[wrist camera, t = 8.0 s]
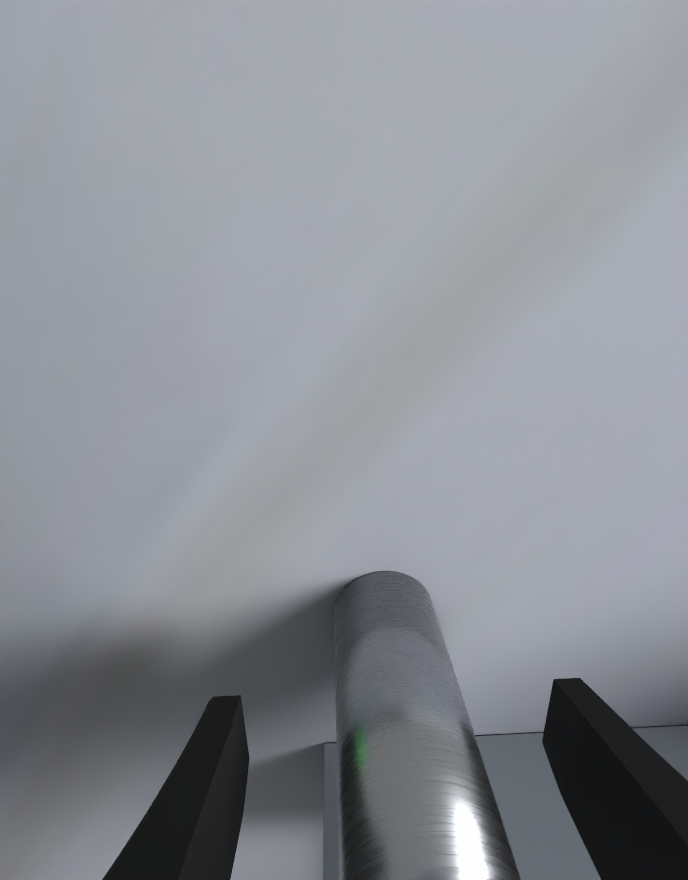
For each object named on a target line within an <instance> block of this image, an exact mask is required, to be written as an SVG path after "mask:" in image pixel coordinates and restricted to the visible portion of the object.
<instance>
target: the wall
mask: <svg viewBox="0 0 688 880" xmlns="http://www.w3.org/2000/svg"><path fill="white" fill-rule="evenodd" d="M632 729H633V730H634V731H635V732H636V733H637V734H638V735H639V736H640V737H641V738H642V739H643V740H644V741H646V742H647V743H648V744H649V745H650V746H651V747H652V748H653V749H654V750H655V751H656V752H657V753H658V754H659V755H660V756H662V757H663V758H664V759H665V760H666V761H667V762H668V763H669V764H670V765H671V766H672V767H673V768H675V769H676V770H677V771H678V772H679V773H680V774H681V775H682V776H683V777H684V778H685V779H686V780H688V726H670V727H650V728H632ZM543 734H544V733H530V734H510V735H490V736H475V738H476V741H477V744H478V747H479V750H480V753H481V756H482V759H483V763H484V766H485V769H486V772H487V775H488V778H489V781H490V784H491V787H492V791H493V794H494V797H495V800H496V803H497V806H498V809H499V812H500V815H501V819H502V822H503V825H504V828H505V831H506V834H507V837H508V840H509V843H510V847H511V850H512V853H513V856H514V859H515V862H516V865H517V868H518V871H519V875H520V878H521V880H601V878H600V876H599V874H598V872H597V870H596V868H595V866H594V864H593V862H592V860H591V857H590V855H589V853H588V851H587V849H586V847H585V845H584V843H583V841H582V839H581V836H580V834H579V832H578V830H577V828H576V826H575V824H574V822H573V820H572V817H571V815H570V813H569V811H568V809H567V807H566V805H565V802H564V800H563V798H562V796H561V793H560V791H559V788H558V785H557V783H556V780H555V777H554V775H553V772H552V769H551V766H550V764H549V761H548V758H547V755H546V752H545V749H544V746H543V744H542V739H543ZM323 880H339V839H338V788H337V743H329V744H324V847H323Z"/></svg>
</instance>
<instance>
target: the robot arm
mask: <svg viewBox="0 0 688 880" xmlns="http://www.w3.org/2000/svg"><path fill="white" fill-rule="evenodd" d="M542 744H543V746H544V749H545V752H546V755H547V758H548V761H549V764H550V766H551V769H552V772H553V775H554V777H555V780H556V783H557V785H558V788H559V791H560V793H561V796H562V798H563V800H564V802H565V805H566V807H567V809H568V811H569V813H570V815H571V817H572V820H573V822H574V824H575V826H576V828H577V830H578V832H579V834H580V836H581V839H582V841H583V843H584V845H585V847H586V849H587V851H588V853H589V855H590V857H591V860H592V862H593V864H594V866H595V868H596V870H597V872H598V874H599V876H600V878H601V880H688V780H686V779H685V778H684V777H683V776H682V775H681V774H680V773H679V772H678V771H677V770H676V769H675V768H673V767H672V766H671V765H670V764H669V763H668V762H667V761H666V760H665V759H664V758H663V757H662V756H660V755H659V754H658V753H657V752H656V751H655V750H654V749H653V748H652V747H651V746H650V745H649V744H648V743H647V742H646V741H644V740H643V739H642V738H641V737H640V736H639V735H638V734H637V733H636V732H635V731H634V730H633V729H632V728H631V727H630V726H629V725H628V724H627V723H626V722H625V721H624V720H623V719H622V718H621V717H620V716H618V715H617V714H616V713H615V712H614V711H613V710H612V709H611V708H610V707H609V706H608V705H607V704H606V703H605V702H604V701H603V700H602V699H601V698H600V697H599V696H598V695H597V694H596V693H595V692H594V691H593V690H592V689H591V688H590V687H589V686H588V685H586V684H585V683H584V682H583V681H582V680H581V679H580V678H569V679H554V681H553V686H552V691H551V696H550V702H549V707H548V712H547V718H546V723H545V728H544V734H543V739H542ZM248 765H249V753H248V745H247V738H246V731H245V723H244V716H243V709H242V701H241V695H238V696H219V697H213V698H212V699H211V700H210V701H209V702H208V704H207V706H206V709H205V711H204V713H203V715H202V717H201V719H200V720H199V722H198V724H197V726H196V728H195V730H194V732H193V734H192V736H191V738H190V739H189V741H188V743H187V745H186V747H185V748H184V750H183V752H182V754H181V756H180V757H179V759H178V761H177V763H176V765H175V766H174V768H173V770H172V771H171V773H170V775H169V776H168V778H167V780H166V781H165V783H164V785H163V786H162V788H161V790H160V791H159V793H158V795H157V796H156V798H155V800H154V802H153V803H152V805H151V806H150V808H149V810H148V811H147V813H146V814H145V816H144V818H143V819H142V821H141V822H140V824H139V825H138V827H137V828H136V830H135V831H134V833H133V834H132V836H131V837H130V839H129V841H128V842H127V844H126V845H125V847H124V848H123V850H122V851H121V853H120V854H119V856H118V857H117V859H116V860H115V862H114V863H113V865H112V866H111V868H110V869H109V871H108V872H107V874H106V875H105V877H104V878H103V879H102V880H230V878H231V873H232V868H233V863H234V858H235V853H236V848H237V843H238V838H239V832H240V827H241V822H242V817H243V810H244V802H245V793H246V784H247V775H248Z"/></svg>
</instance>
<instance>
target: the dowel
mask: <svg viewBox="0 0 688 880" xmlns="http://www.w3.org/2000/svg"><path fill="white" fill-rule="evenodd" d="M334 635H335V686H336V737H337V788H338V839H339V880H521V878H520V875H519V871H518V868H517V865H516V862H515V859H514V856H513V853H512V850H511V847H510V843H509V840H508V837H507V834H506V831H505V828H504V825H503V822H502V819H501V815H500V812H499V809H498V806H497V803H496V800H495V797H494V794H493V791H492V787H491V784H490V781H489V778H488V775H487V772H486V769H485V766H484V763H483V759H482V756H481V753H480V750H479V747H478V744H477V741H476V738H475V735H474V731H473V728H472V725H471V722H470V719H469V716H468V713H467V710H466V707H465V703H464V700H463V697H462V694H461V691H460V688H459V685H458V682H457V679H456V675H455V672H454V669H453V666H452V663H451V660H450V657H449V654H448V651H447V647H446V644H445V641H444V638H443V635H442V632H441V629H440V626H439V623H438V619H437V616H436V613H435V610H434V607H433V604H432V601H431V598H430V595H429V593H428V592H427V590H426V589H425V587H424V586H423V585H422V584H421V583H420V582H418V581H417V580H416V579H414V578H412V577H410V576H408V575H405V574H402V573H398V572H392V571H381V572H374V573H370V574H367V575H364V576H362V577H359V578H357V579H356V580H354V581H353V582H351V583H350V584H349V585H347V587H346V588H345V589H344V590H343V591H342V592H341V594H340V595H339V597H338V599H337V601H336V604H335V609H334Z"/></svg>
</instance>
